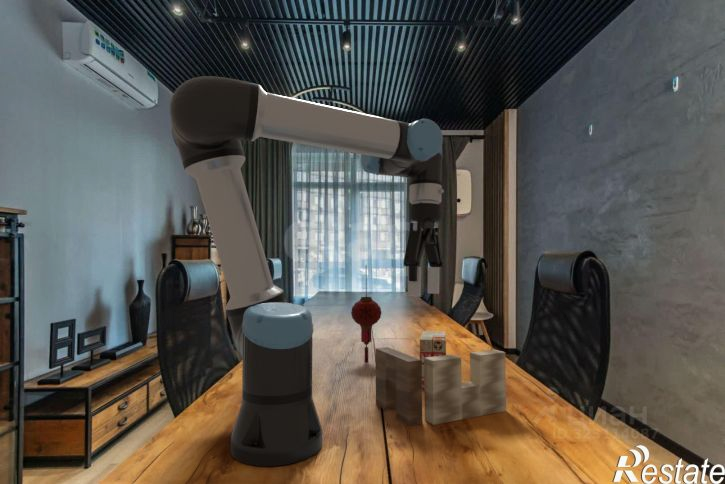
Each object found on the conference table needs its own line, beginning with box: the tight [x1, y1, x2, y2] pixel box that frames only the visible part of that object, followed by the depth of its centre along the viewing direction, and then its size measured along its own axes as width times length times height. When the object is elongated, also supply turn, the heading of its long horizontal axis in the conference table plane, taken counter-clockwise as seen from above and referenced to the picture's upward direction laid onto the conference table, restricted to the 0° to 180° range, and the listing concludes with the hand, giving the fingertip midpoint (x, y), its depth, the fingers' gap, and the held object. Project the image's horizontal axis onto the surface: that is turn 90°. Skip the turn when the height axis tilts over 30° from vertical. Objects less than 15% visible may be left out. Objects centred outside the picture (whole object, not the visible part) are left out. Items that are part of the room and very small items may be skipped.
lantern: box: [350, 264, 382, 363], centre depth 132 cm, size 10×10×30 cm
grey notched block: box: [423, 349, 507, 426], centre depth 86 cm, size 18×3×12 cm, turn 115°
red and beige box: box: [419, 330, 447, 390], centre depth 114 cm, size 21×6×12 cm, turn 168°
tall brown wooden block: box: [375, 346, 423, 427], centre depth 87 cm, size 3×14×12 cm, turn 25°
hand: (424, 295), depth 99 cm, fingers open, 13 cm apart
